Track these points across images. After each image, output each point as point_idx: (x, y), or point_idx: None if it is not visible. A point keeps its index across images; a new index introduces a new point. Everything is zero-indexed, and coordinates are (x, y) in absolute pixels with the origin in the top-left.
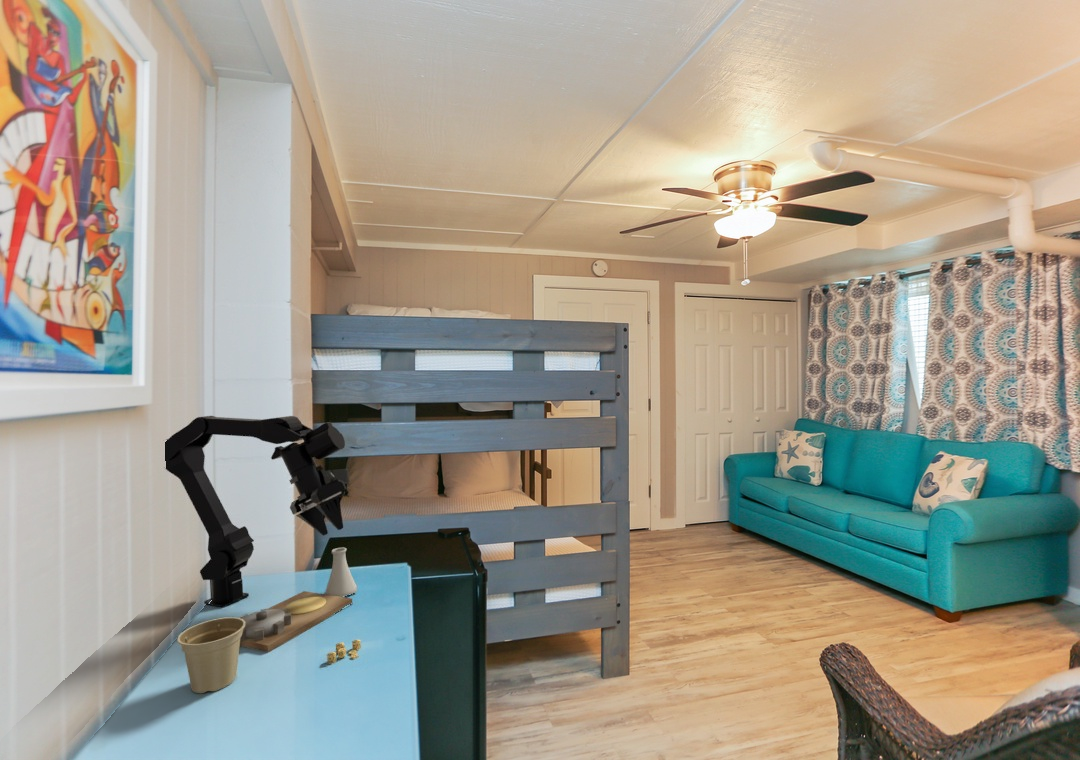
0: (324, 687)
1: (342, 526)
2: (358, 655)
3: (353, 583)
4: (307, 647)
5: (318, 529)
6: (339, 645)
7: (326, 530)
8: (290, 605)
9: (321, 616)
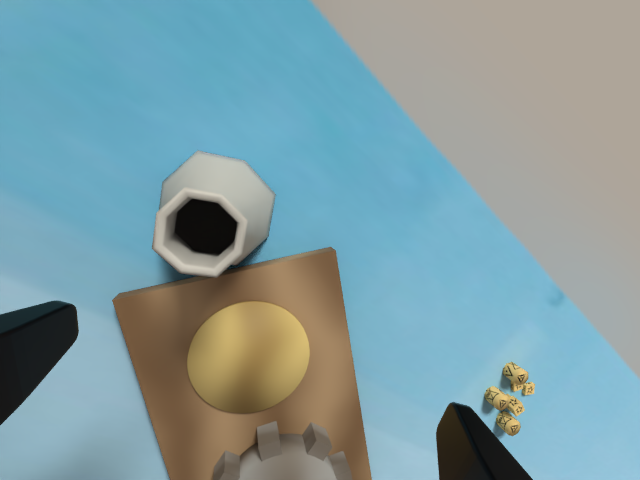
0: (544, 456)
1: (473, 420)
2: (533, 383)
3: (255, 183)
4: (421, 425)
5: (3, 412)
6: (503, 405)
7: (45, 321)
8: (211, 388)
9: (352, 360)
